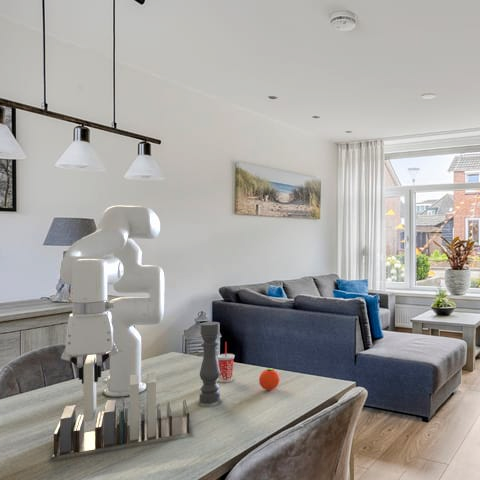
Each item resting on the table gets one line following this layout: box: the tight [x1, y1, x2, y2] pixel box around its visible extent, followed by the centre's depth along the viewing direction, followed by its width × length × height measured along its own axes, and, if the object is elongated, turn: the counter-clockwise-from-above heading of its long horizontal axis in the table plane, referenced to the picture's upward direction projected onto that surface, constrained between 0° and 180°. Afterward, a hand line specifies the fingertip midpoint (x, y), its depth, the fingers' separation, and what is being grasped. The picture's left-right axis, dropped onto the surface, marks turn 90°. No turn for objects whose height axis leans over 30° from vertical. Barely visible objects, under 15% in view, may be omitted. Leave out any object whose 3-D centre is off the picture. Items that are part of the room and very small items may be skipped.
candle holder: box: [198, 321, 221, 404], centre depth 141 cm, size 6×6×25 cm
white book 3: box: [146, 372, 157, 438], centre depth 119 cm, size 2×9×14 cm, turn 26°
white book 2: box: [129, 374, 140, 441], centre depth 117 cm, size 2×9×14 cm, turn 26°
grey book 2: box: [104, 399, 117, 445], centre depth 114 cm, size 2×9×8 cm, turn 26°
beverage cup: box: [216, 341, 236, 383], centre depth 164 cm, size 6×6×14 cm
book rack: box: [52, 396, 191, 458], centre depth 116 cm, size 30×12×9 cm, turn 116°
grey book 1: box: [59, 404, 77, 453], centre depth 110 cm, size 2×9×8 cm, turn 26°
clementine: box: [258, 367, 281, 391], centre depth 155 cm, size 8×7×7 cm
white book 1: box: [83, 354, 97, 423], centre depth 113 cm, size 2×9×14 cm, turn 26°
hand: (90, 380), depth 113 cm, fingers closed on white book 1, 2 cm apart
